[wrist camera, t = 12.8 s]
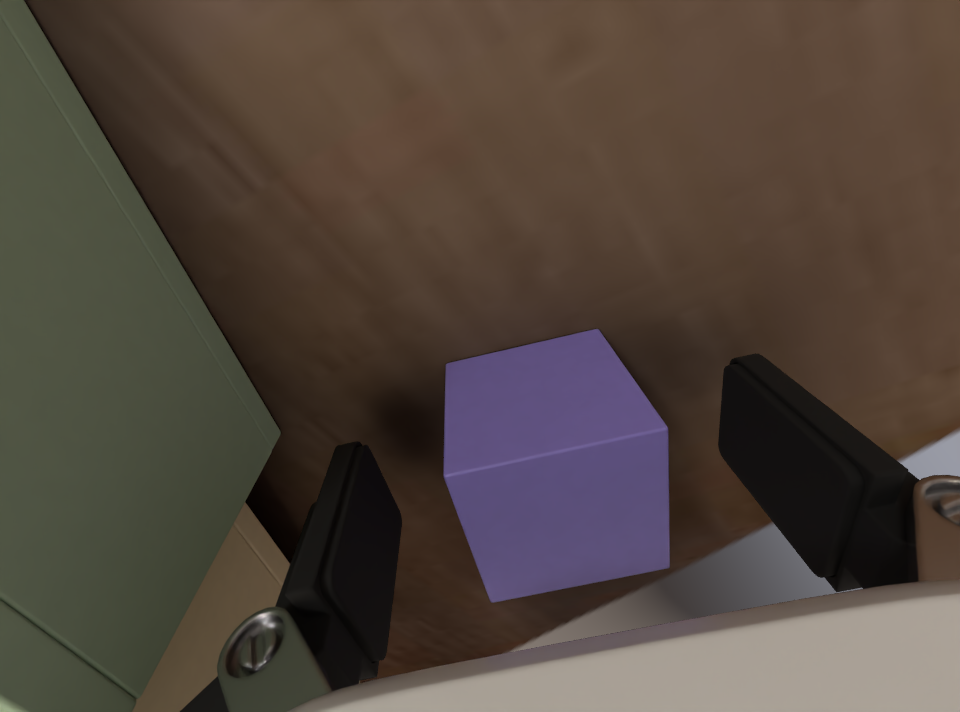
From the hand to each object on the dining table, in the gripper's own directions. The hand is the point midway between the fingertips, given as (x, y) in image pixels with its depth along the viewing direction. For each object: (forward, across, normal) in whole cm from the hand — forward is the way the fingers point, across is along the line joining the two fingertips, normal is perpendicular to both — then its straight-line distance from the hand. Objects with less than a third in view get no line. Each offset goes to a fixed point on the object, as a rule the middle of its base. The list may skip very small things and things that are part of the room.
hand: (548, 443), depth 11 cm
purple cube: (+2, 0, 0) cm, 2 cm away
